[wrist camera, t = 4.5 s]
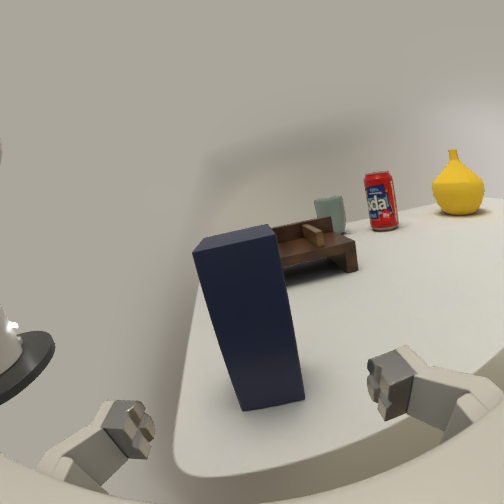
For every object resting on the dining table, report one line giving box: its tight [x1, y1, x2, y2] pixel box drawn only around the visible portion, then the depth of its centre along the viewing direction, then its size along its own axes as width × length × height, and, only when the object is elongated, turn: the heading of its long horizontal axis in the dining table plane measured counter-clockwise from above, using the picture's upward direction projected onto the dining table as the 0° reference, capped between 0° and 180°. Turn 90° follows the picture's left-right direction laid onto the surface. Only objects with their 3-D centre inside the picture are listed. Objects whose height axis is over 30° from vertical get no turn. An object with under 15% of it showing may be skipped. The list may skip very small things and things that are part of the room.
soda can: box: [364, 171, 399, 231], centre depth 64 cm, size 8×8×15 cm
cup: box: [314, 196, 346, 234], centre depth 70 cm, size 8×8×10 cm
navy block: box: [192, 224, 305, 411], centre depth 19 cm, size 5×5×13 cm
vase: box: [432, 150, 484, 215], centre depth 61 cm, size 18×18×19 cm
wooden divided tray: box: [271, 216, 358, 273], centre depth 47 cm, size 22×12×8 cm, turn 92°
